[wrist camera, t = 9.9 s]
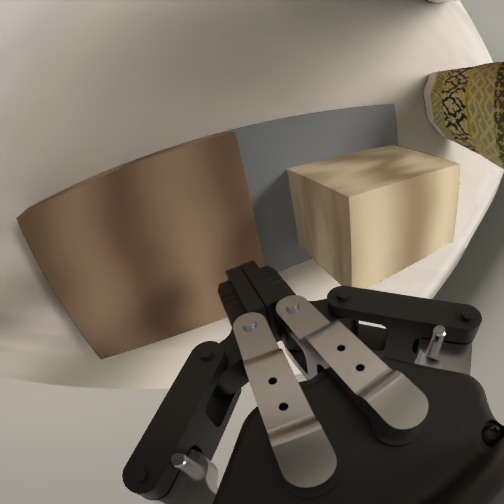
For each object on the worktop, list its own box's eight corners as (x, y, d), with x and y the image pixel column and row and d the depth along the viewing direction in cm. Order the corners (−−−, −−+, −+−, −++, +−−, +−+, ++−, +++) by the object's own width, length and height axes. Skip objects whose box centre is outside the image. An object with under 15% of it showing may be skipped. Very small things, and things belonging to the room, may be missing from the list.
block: (392, 144, 21) (459, 163, 15) (394, 209, 24) (452, 241, 18) (286, 169, 19) (348, 197, 13) (298, 245, 22) (351, 295, 16)
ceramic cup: (398, 111, 20) (500, 131, 11) (428, 36, 17) (516, 37, 9) (457, 180, 26) (527, 211, 17) (480, 113, 23) (547, 132, 15)
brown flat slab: (226, 131, 17) (235, 132, 15) (263, 285, 23) (272, 299, 21) (27, 208, 14) (16, 218, 13) (102, 341, 20) (100, 359, 19)
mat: (391, 104, 19) (393, 104, 19) (396, 222, 25) (398, 223, 25) (226, 131, 17) (227, 131, 17) (260, 275, 22) (262, 277, 22)
